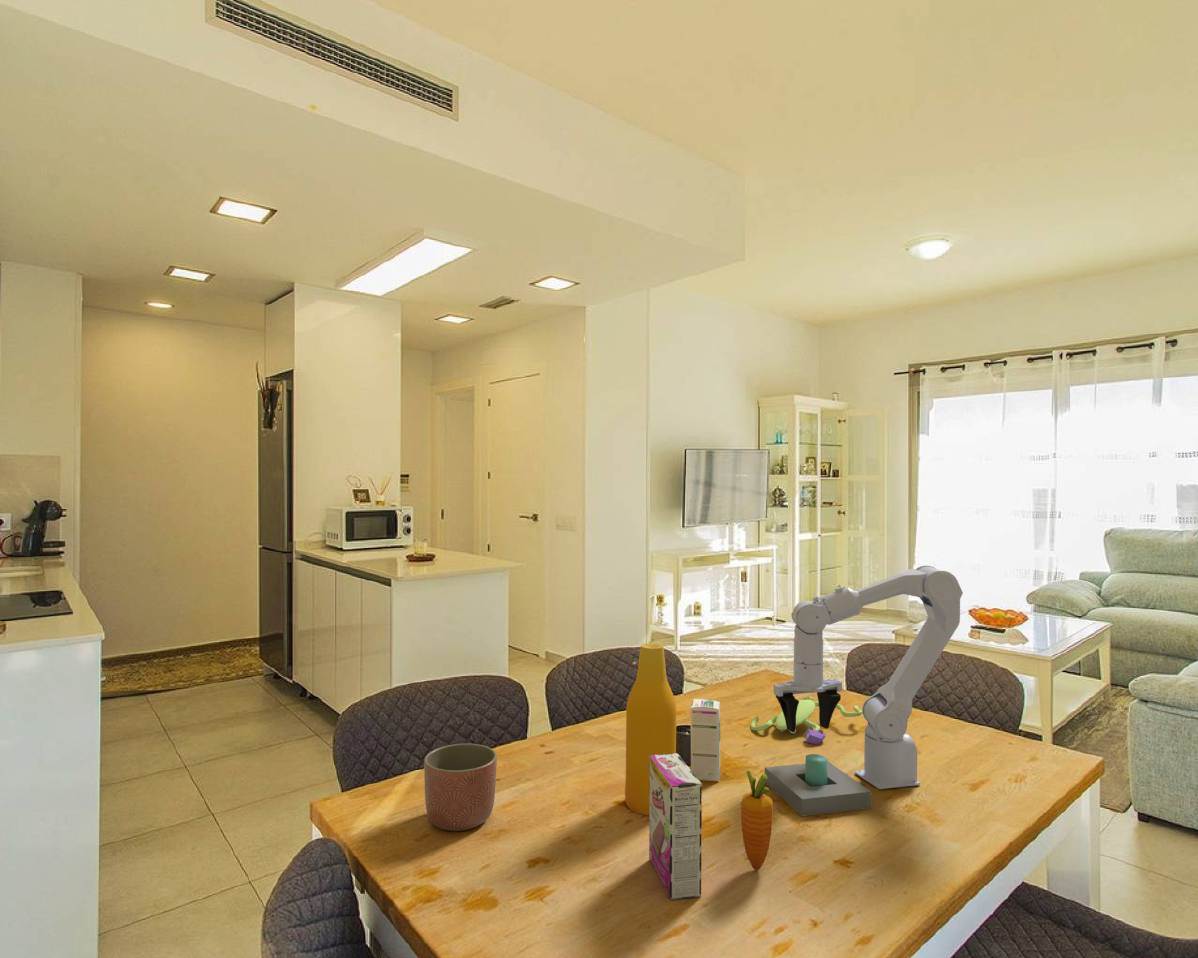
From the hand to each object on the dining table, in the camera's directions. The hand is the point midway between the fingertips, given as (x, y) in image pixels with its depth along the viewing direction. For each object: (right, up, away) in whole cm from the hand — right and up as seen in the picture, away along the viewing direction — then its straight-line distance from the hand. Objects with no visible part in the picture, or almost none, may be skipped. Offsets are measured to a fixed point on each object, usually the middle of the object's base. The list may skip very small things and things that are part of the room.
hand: (807, 728), depth 139 cm
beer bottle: (-33, -9, -14) cm, 37 cm away
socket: (-1, -9, -9) cm, 13 cm away
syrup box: (-21, -9, 0) cm, 23 cm away
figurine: (+9, -10, +29) cm, 32 cm away
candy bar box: (-31, -9, -37) cm, 49 cm away
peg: (-1, -9, -9) cm, 13 cm away
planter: (-66, -9, -20) cm, 70 cm away
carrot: (-18, -9, -35) cm, 40 cm away
